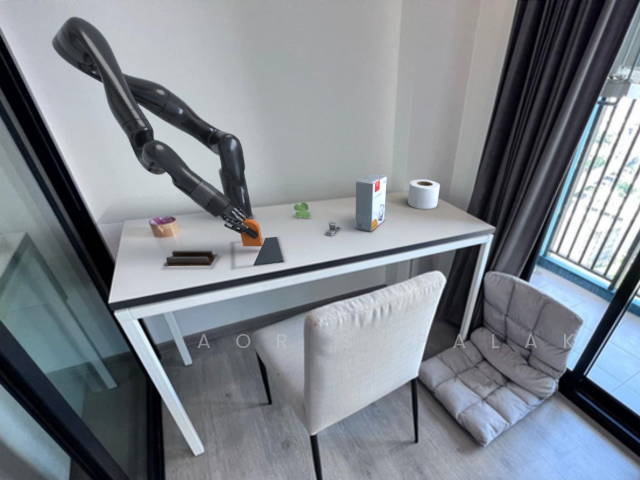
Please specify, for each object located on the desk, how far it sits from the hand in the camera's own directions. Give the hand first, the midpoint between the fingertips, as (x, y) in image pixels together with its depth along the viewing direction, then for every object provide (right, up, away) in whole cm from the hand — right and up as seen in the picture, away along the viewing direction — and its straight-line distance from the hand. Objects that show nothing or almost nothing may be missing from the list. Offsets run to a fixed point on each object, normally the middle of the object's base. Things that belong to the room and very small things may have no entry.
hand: (257, 235), depth 111 cm
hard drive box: (+36, +11, +33) cm, 50 cm away
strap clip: (+21, +6, +24) cm, 32 cm away
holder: (-20, -10, -4) cm, 22 cm away
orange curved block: (-2, -3, +2) cm, 4 cm away
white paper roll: (+61, +28, +60) cm, 91 cm away
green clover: (+6, +16, +35) cm, 39 cm away
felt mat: (-2, -5, +5) cm, 7 cm away
